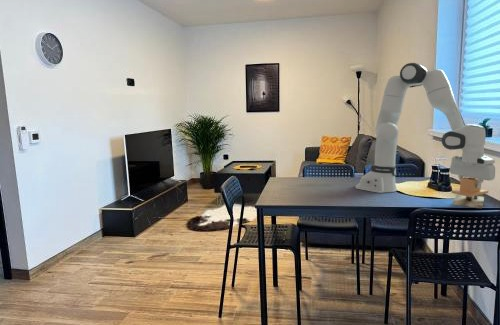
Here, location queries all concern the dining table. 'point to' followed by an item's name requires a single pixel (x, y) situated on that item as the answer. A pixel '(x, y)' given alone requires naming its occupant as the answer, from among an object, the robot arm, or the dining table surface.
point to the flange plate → (469, 187)
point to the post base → (463, 202)
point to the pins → (471, 198)
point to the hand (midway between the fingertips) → (469, 186)
